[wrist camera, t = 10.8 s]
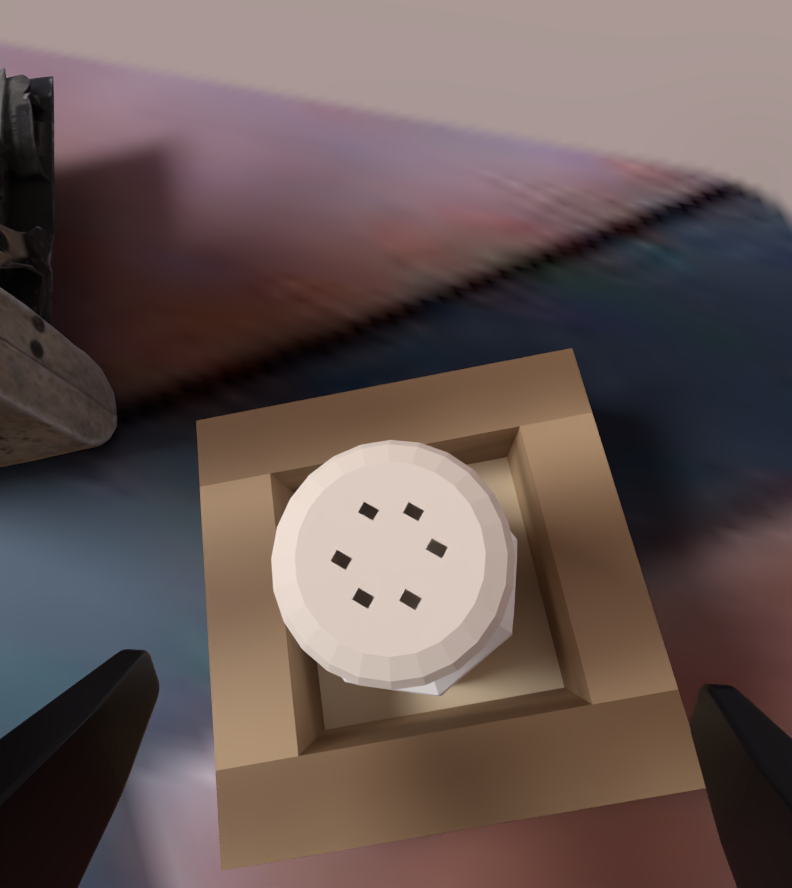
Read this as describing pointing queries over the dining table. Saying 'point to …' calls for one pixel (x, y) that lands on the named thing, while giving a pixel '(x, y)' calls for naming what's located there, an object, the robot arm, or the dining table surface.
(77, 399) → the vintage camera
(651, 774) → the socket holder
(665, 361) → the dining table surface
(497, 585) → the pepper shaker
